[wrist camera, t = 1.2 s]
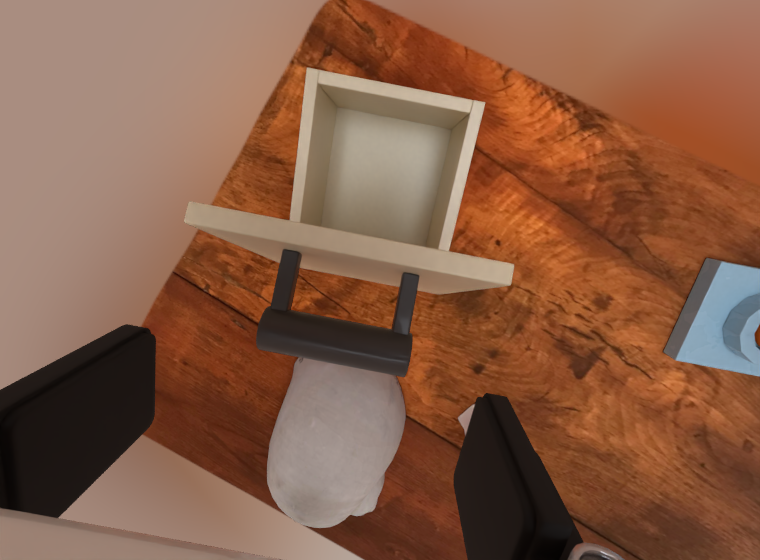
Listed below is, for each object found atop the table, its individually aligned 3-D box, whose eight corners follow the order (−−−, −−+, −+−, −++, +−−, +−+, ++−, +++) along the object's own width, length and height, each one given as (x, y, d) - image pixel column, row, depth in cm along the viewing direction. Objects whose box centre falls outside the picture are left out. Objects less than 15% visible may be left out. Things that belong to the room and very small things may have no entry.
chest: (331, 97, 31) (306, 67, 23) (461, 122, 31) (485, 102, 23) (312, 238, 35) (285, 257, 26) (429, 260, 35) (440, 287, 26)
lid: (187, 200, 12) (154, 343, 12) (515, 263, 12) (491, 407, 12) (284, 253, 26) (269, 321, 25) (441, 283, 26) (429, 352, 25)
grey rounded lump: (311, 409, 48) (334, 540, 38) (227, 384, 38) (229, 553, 28) (404, 355, 45) (455, 483, 35) (339, 311, 35) (385, 474, 25)
